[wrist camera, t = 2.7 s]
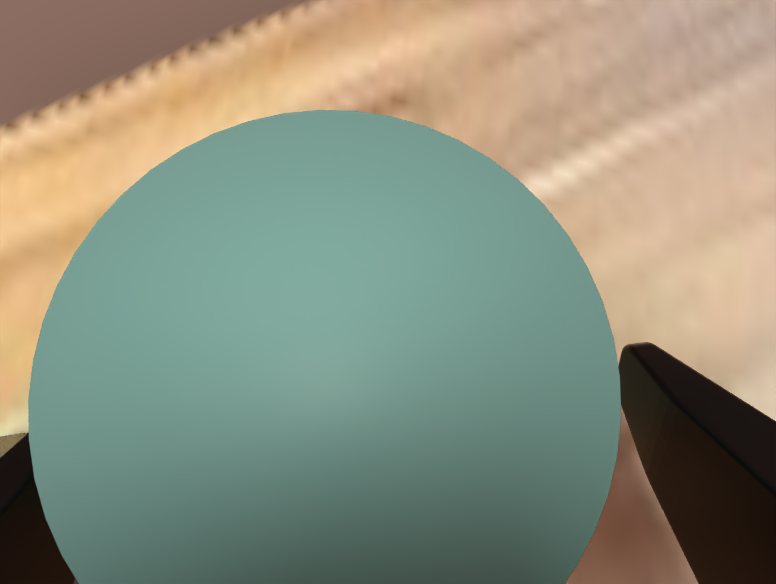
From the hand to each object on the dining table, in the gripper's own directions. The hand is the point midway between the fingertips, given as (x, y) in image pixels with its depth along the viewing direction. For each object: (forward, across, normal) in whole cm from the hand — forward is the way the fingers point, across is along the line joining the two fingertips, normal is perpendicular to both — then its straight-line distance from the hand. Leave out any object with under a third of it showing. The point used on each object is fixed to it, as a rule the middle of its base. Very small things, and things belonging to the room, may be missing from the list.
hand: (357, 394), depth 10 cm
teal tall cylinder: (+6, 0, +6) cm, 8 cm away
